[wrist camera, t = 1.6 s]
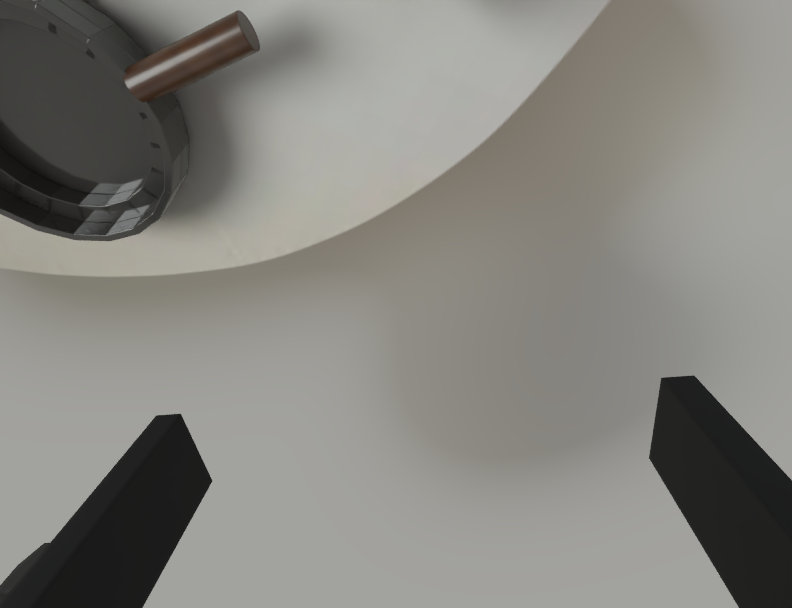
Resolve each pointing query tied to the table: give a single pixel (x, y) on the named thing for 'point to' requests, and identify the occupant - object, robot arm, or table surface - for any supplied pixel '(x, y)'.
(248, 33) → the handle
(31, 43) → the black frying pan
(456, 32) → the table surface
